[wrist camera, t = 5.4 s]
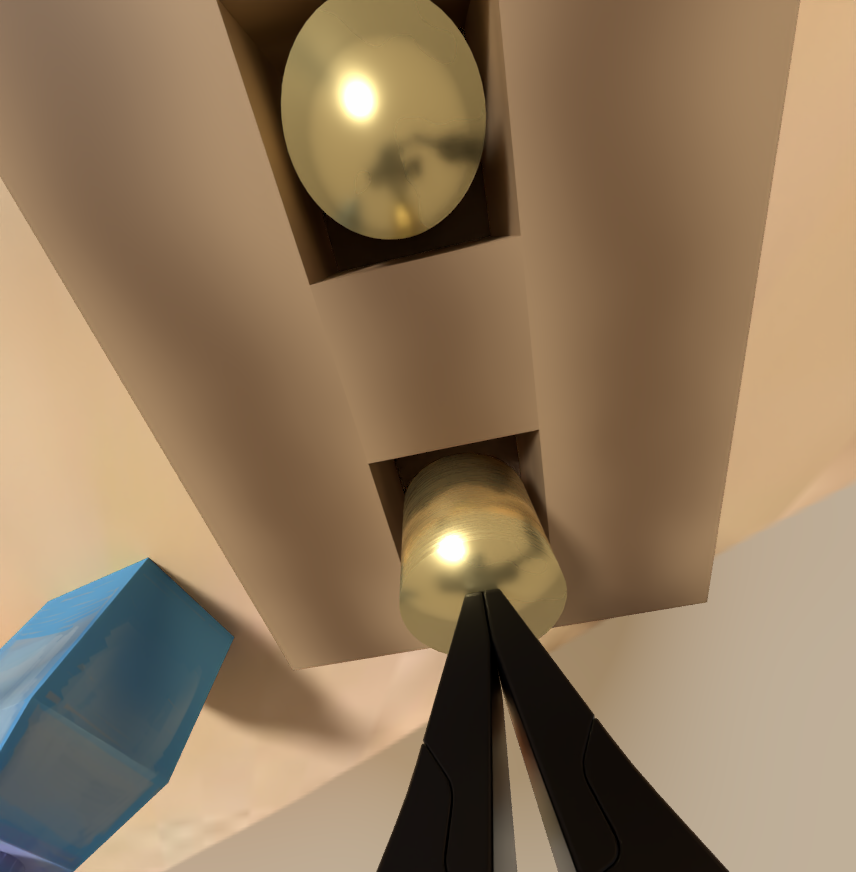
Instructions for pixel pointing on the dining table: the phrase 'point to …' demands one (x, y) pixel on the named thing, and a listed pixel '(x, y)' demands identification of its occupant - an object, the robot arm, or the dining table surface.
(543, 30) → the socket board
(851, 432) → the dining table surface
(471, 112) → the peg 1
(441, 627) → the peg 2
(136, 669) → the perfume bottle
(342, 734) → the dining table surface
